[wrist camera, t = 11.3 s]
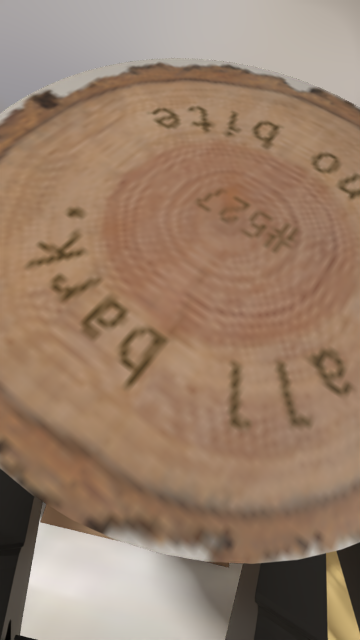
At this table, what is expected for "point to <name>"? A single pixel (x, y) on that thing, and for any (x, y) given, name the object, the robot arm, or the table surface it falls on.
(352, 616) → the sculpture
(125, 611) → the table surface
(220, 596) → the table surface
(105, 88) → the paper tube
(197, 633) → the table surface
